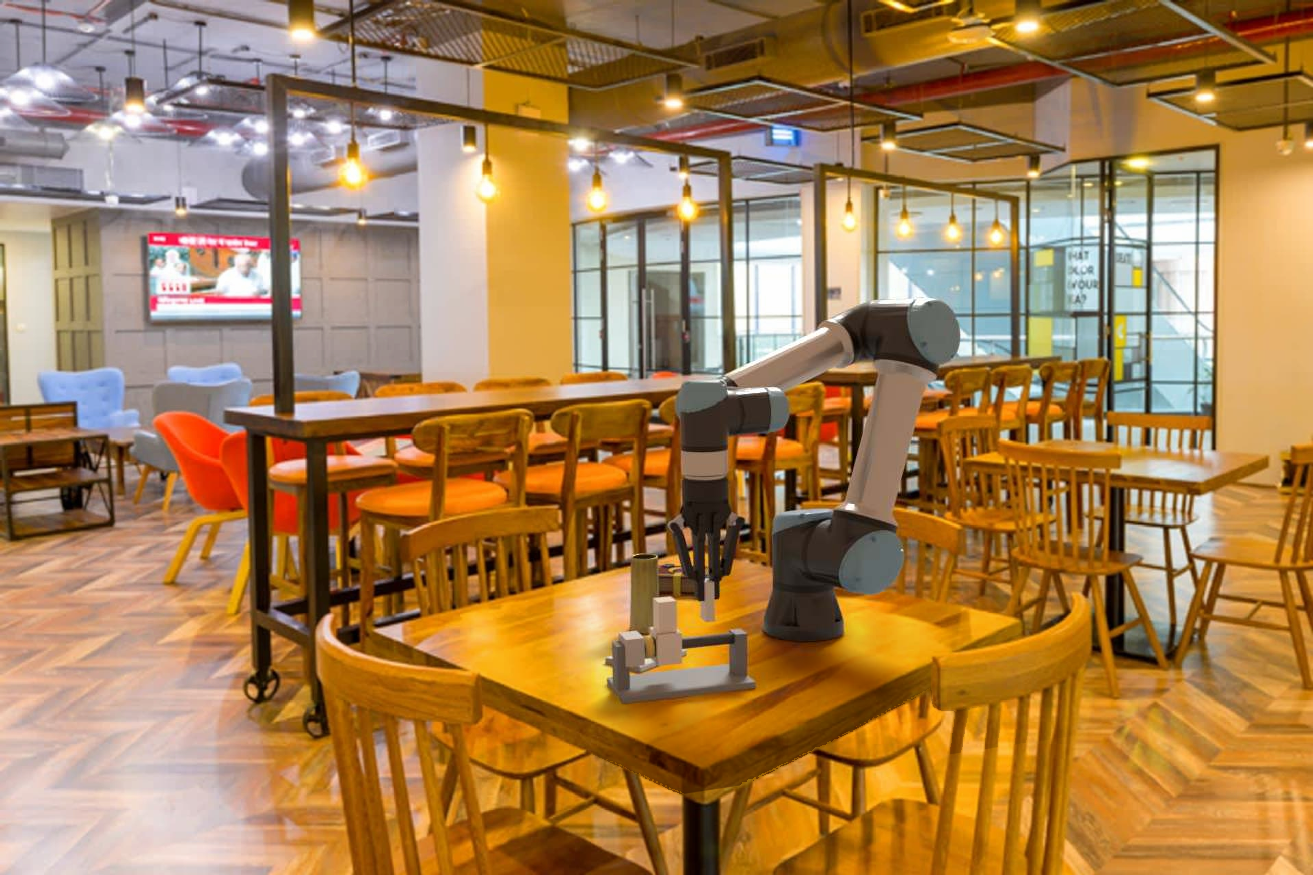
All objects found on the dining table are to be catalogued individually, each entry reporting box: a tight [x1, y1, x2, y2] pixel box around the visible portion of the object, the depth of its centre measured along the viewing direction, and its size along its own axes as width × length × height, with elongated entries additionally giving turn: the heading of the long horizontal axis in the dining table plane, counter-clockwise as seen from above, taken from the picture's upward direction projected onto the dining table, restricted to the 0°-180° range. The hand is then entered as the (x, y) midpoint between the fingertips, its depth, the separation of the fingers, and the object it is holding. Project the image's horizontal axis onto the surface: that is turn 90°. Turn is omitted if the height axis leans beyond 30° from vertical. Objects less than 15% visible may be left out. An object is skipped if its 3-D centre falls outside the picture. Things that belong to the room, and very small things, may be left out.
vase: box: [629, 553, 660, 635], centre depth 210 cm, size 6×6×14 cm
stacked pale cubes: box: [648, 596, 683, 667], centre depth 176 cm, size 4×5×10 cm
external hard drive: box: [604, 649, 687, 673], centre depth 193 cm, size 2×8×12 cm
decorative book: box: [658, 563, 710, 597], centre depth 241 cm, size 11×16×5 cm
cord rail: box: [606, 628, 757, 704], centre depth 178 cm, size 22×10×9 cm, turn 107°
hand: (707, 619), depth 179 cm, fingers closed
